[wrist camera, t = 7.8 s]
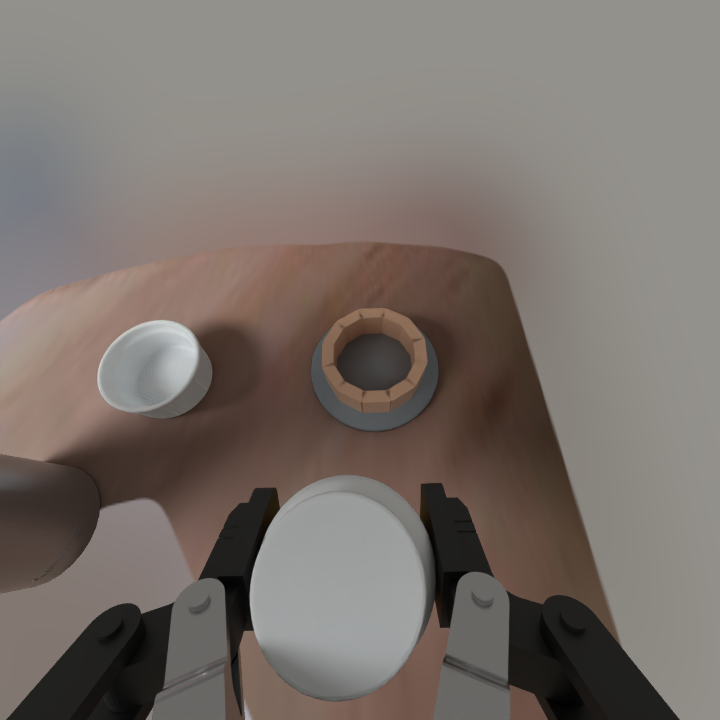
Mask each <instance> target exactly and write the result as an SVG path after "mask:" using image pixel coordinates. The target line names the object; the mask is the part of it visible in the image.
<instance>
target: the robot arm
mask: <svg viewBox="0 0 720 720" xmlns="http://www.w3.org/2000/svg"><path fill="white" fill-rule="evenodd" d="M279 510H280V507H279V500H278V494H277V489H276V488H255V489H254V491H253V493H252V496H251V498H250V500H249V503H240V504H239V505H238V506H237V507H236V508H235V509H234V510H233V511H232V512H231V513H230V514H229V516H228V518H227V520H226V522H225V524H224V528H223V529H222V531H221V533H220V535H219V539H217V541H216V544H215V546H214V548H213V550H212V552H211V554H210V556H209V558H208V561H207V563H206V565H205V567H204V569H203V571H202V573H201V575H200V577H199V579H198V581H196V582H194V583H192V584H191V585H189V586H188V587H187V588H186V589H184V590H183V591H182V592H181V594H180V595H179V596H178V597H177V599H176V601H175V602H174V603H172V604H169V605H167V606H164V607H161V608H158V609H155V610H152V611H149V612H146V613H143V614H141V612H140V609H139V608H138V607H137V606H136V605H134V604H130V603H126V604H120V605H117V606H114V607H112V608H110V609H108V610H107V611H105V612H103V613H102V614H101V615H99V616H98V617H97V618H96V619H95V620H93V621H92V623H91V624H90V625H89V626H88V627H87V628H86V629H85V630H84V632H83V633H82V634H81V635H80V636H79V637H78V638H77V639H76V641H75V642H74V643H73V644H72V645H71V646H70V648H69V649H68V650H67V651H66V652H65V653H64V654H63V656H62V657H61V658H60V659H59V660H58V661H57V662H56V663H55V665H54V666H53V667H52V668H51V669H50V670H49V672H48V673H47V674H46V675H45V676H44V677H43V678H42V679H41V681H40V682H39V683H38V684H37V685H36V686H35V688H34V689H33V690H32V691H31V692H30V693H29V694H28V696H27V697H26V698H25V699H24V700H23V701H22V702H21V704H20V705H19V706H18V707H17V708H16V709H15V711H14V712H13V713H12V714H11V715H10V716H9V717H8V718H7V720H146V718H147V716H148V715H149V713H150V711H151V710H152V708H153V715H152V720H245V713H244V699H243V684H242V670H241V656H240V648H239V645H240V642H241V639H242V635H243V632H244V631H254V628H253V623H252V618H251V609H250V586H251V578H252V573H253V569H254V565H255V561H256V558H257V556H258V553H259V551H260V548H261V545H262V542H263V539H264V536H265V534H266V532H267V530H268V528H269V526H270V524H271V522H272V520H273V519H274V517H275V516H276V514H277V513H278V511H279ZM99 511H100V499H99V492H98V489H97V487H96V484H95V482H94V481H93V480H92V478H91V477H90V476H89V475H88V474H87V473H85V472H84V471H82V470H81V469H78V468H75V467H72V466H66V465H60V464H54V463H48V462H42V461H36V460H31V459H26V458H20V457H14V456H8V455H2V454H0V594H1V593H6V592H11V591H16V590H21V589H26V588H31V587H35V586H38V585H41V584H44V583H46V582H48V581H50V580H52V579H53V578H55V577H57V576H59V575H60V574H61V573H62V572H64V571H65V570H66V569H67V568H68V567H70V566H71V565H72V564H73V563H74V562H75V561H76V559H77V558H78V557H79V556H80V555H81V554H82V552H83V551H84V549H85V548H86V546H87V545H88V543H89V542H90V540H91V537H92V535H93V533H94V531H95V529H96V525H97V521H98V518H99ZM420 519H421V521H422V523H423V525H424V527H425V529H426V531H427V533H428V536H429V539H430V542H431V545H432V548H433V553H434V557H435V564H436V591H435V603H436V608H437V613H438V618H439V623H440V628H450V632H449V638H448V644H447V650H446V655H445V658H444V660H443V665H442V670H441V676H440V682H439V688H438V693H437V699H436V705H435V711H434V717H433V720H510V686H509V685H508V684H510V685H512V686H515V687H518V688H520V689H523V690H526V691H528V692H531V693H534V694H535V696H536V698H537V700H538V702H539V704H540V705H541V707H542V709H543V711H544V713H545V715H546V717H547V719H548V720H679V718H678V717H677V716H676V715H675V713H674V712H673V711H672V710H671V709H670V707H669V706H668V705H667V703H666V702H665V701H664V700H663V699H662V697H661V696H660V695H659V694H658V692H657V691H656V690H655V689H654V687H653V686H652V685H651V684H650V682H649V681H648V680H647V679H646V677H645V676H644V675H643V674H642V672H641V671H640V670H639V669H638V668H637V666H636V665H635V664H634V662H633V661H632V660H631V659H630V658H629V656H628V655H627V654H626V652H625V651H624V650H623V649H622V647H621V646H620V645H619V644H618V642H617V641H616V640H615V639H614V637H613V636H612V635H611V634H610V632H609V631H608V630H607V629H606V628H605V626H604V625H603V624H602V623H601V621H600V620H599V619H598V618H597V616H596V615H595V614H594V613H593V612H592V611H591V610H590V609H589V608H588V607H587V606H585V605H584V604H583V603H581V602H579V601H578V600H576V599H573V598H571V597H568V596H563V595H555V596H551V597H549V598H548V599H547V600H546V601H545V602H544V604H539V603H536V602H532V601H529V600H526V599H522V598H519V597H517V596H515V595H513V594H511V593H510V592H508V591H507V590H505V589H504V587H503V586H502V585H501V583H500V582H498V581H497V580H496V579H495V578H494V576H493V574H492V572H491V569H490V567H489V564H488V561H487V559H486V556H485V553H484V551H483V548H482V546H481V543H480V540H479V538H478V535H477V533H476V530H475V527H474V524H473V523H472V519H471V516H470V514H469V511H468V509H467V507H466V506H465V505H464V504H463V503H462V502H461V501H460V500H459V499H458V497H457V498H446V495H445V491H444V488H443V485H442V483H428V484H421V507H420ZM153 706H154V707H153Z"/></svg>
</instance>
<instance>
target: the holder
mask: <svg viewBox="0 0 720 720" xmlns="http://www.w3.org/2000/svg"><path fill="white" fill-rule="evenodd" d="M438 372H439V371H438V361H437V356H436V353H435V350H434V348H433V346H432V344H431V342H430V341H429V339H428V338H427V337H426V335H425V334H424V333H423V332H422V331H421V330H420V329H419V328H418V327H416V326H415V325H414V324H413V322H412V321H411V320H410V319H408V317H406V316H403V315H401V314H398V313H396V312H394V311H391V310H389V309H387V308H385V309H384V308H368V309H359V310H356V311H354V312H352V313H350V314H348V315H347V316H345V317H343V318H341V319H339V320H337V322H335V324H334V325H333V327H332V328H331V329H329V330H328V331H327V332H326V334H325V335H324V336H323V337H322V339H321V340H320V341H319V343H318V345H317V347H316V349H315V351H314V354H313V358H312V363H311V379H312V384H313V387H314V390H315V393H316V395H317V397H318V399H319V401H320V403H321V404H322V406H323V407H324V408H325V410H326V411H327V412H328V413H329V414H330V415H331V416H332V417H334V418H335V419H336V420H337V421H339V422H341V423H342V424H344V425H346V426H348V427H351V428H354V429H357V430H361V431H367V432H382V431H388V430H393V429H396V428H398V427H401V426H403V425H405V424H407V423H409V422H410V421H412V420H413V419H415V418H416V417H417V416H418V415H419V414H420V413H421V412H422V411H423V410H424V409H425V407H426V406H427V405H428V403H429V401H430V400H431V398H432V396H433V393H434V391H435V388H436V385H437V381H438Z"/></svg>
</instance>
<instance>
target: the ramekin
mask: <svg viewBox="0 0 720 720" xmlns="http://www.w3.org/2000/svg"><path fill="white" fill-rule="evenodd" d="M212 372H213V371H212V365H211V361H210V359H209V357H208V355H207V354H206V352H205V351H204V350H203V348H202V347H201V346H200V343H199V341H198V339H197V338H196V336H195V335H194V333H193V332H192V331H191V330H190V329H189V328H188V327H186V326H185V325H183V324H181V323H178V322H175V321H169V320H156V321H150V322H145V323H142V324H140V325H137V326H135V327H133V328H131V329H129V330H128V331H126V332H125V333H123V334H122V335H121V336H119V337H118V338H117V339H116V340H115V341H114V342H113V343H112V344H111V345H110V346H109V348H108V349H107V351H106V352H105V354H104V355H103V358H102V360H101V362H100V365H99V369H98V380H97V381H98V387H99V390H100V392H101V395H102V396H103V398H104V399H105V400H106V402H108V403H109V404H110V405H111V406H113V407H114V408H116V409H118V410H121V411H124V412H129V413H138V414H141V415H144V416H148V417H152V418H159V419H164V418H173V417H176V416H179V415H181V414H184V413H186V412H187V411H189V410H190V409H192V408H193V407H194V406H196V405H197V404H198V403H199V402H200V401H201V400H202V398H203V397H204V396H205V395H206V393H207V391H208V389H209V387H210V384H211V381H212Z"/></svg>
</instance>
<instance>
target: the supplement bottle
mask: <svg viewBox="0 0 720 720" xmlns="http://www.w3.org/2000/svg"><path fill="white" fill-rule="evenodd" d="M435 591H436V564H435V557H434V553H433V548H432V545H431V542H430V539H429V536H428V533H427V531H426V529H425V527H424V525H423V523H422V521H421V519H420V518H419V516H418V515H417V513H416V512H415V510H414V509H413V508H412V507H411V506H410V504H409V503H408V502H407V501H406V500H405V499H404V498H403V497H402V496H400V495H399V494H398V493H397V492H395V491H394V490H393V489H391V488H390V487H388V486H387V485H385V484H383V483H381V482H379V481H376V480H374V479H370V478H367V477H362V476H356V475H338V476H332V477H328V478H324V479H321V480H318V481H316V482H314V483H312V484H310V485H308V486H306V487H304V488H303V489H301V490H300V491H298V492H297V493H296V494H295V495H293V496H292V497H291V498H290V499H289V500H288V501H287V502H286V503H285V504H284V505H283V506H282V507H281V509H280V510H279V511H278V513H277V514H276V516H275V517H274V519H273V520H272V522H271V524H270V526H269V528H268V530H267V532H266V534H265V536H264V539H263V542H262V545H261V548H260V551H259V553H258V556H257V558H256V561H255V565H254V569H253V573H252V578H251V586H250V609H251V618H252V623H253V628H254V632H255V635H256V638H257V640H258V643H259V646H260V648H261V650H262V652H263V654H264V656H265V657H266V659H267V661H268V663H269V664H270V665H271V666H272V668H273V669H274V670H275V671H276V673H277V674H278V675H279V676H280V677H281V678H282V679H283V680H284V681H285V682H286V683H287V684H289V685H290V686H292V687H293V688H294V689H296V690H297V691H299V692H301V693H302V694H305V695H308V696H310V697H313V698H316V699H320V700H326V701H346V700H352V699H356V698H359V697H362V696H365V695H367V694H370V693H372V692H373V691H375V690H377V689H379V688H380V687H381V686H383V685H384V684H386V683H387V682H388V681H389V680H391V679H392V678H393V677H394V675H395V674H396V673H397V672H398V671H399V670H400V669H401V668H402V666H403V665H404V664H405V662H406V661H407V659H408V658H409V657H410V655H411V653H412V651H413V649H414V648H415V646H416V645H417V643H418V642H419V640H420V638H421V636H422V635H423V633H424V631H425V629H426V626H427V624H428V621H429V618H430V615H431V612H432V608H433V604H434V599H435Z"/></svg>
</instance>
